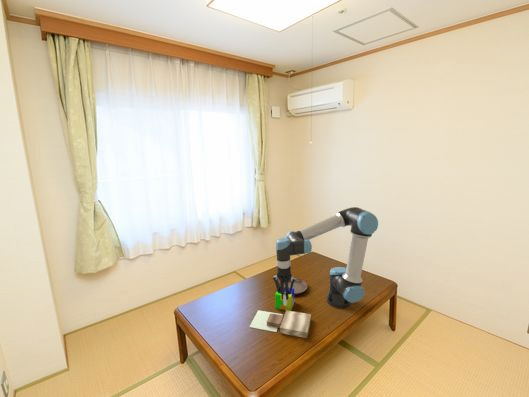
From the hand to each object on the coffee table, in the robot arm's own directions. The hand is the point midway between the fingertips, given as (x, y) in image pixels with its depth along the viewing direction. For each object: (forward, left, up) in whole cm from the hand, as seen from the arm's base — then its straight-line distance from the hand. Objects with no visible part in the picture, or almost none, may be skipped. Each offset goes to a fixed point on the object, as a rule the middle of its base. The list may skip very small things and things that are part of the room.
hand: (285, 304), depth 152 cm
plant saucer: (+3, -39, -13) cm, 41 cm away
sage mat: (+11, 0, -13) cm, 17 cm away
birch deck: (-6, 0, -13) cm, 14 cm away
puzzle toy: (+4, -18, -13) cm, 22 cm away
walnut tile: (+6, +1, -12) cm, 14 cm away
